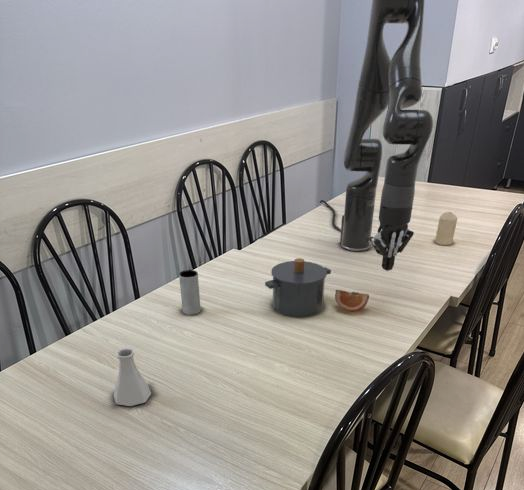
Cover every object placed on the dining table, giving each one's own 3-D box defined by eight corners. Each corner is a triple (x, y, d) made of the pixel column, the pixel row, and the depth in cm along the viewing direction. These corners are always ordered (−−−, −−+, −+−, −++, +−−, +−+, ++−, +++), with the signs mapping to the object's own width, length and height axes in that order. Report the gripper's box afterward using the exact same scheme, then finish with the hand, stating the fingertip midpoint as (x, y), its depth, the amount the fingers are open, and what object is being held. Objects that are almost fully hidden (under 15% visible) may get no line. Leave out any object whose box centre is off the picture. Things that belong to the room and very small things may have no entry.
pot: (255, 303, 131) (254, 271, 127) (312, 288, 139) (314, 257, 134) (280, 324, 122) (281, 290, 117) (340, 307, 130) (343, 274, 125)
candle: (453, 245, 167) (459, 216, 161) (435, 244, 168) (441, 215, 162) (451, 240, 171) (457, 211, 166) (434, 239, 172) (439, 210, 167)
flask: (116, 385, 101) (108, 343, 96) (153, 383, 101) (147, 341, 96) (110, 408, 95) (101, 364, 89) (149, 406, 95) (142, 362, 90)
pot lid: (261, 271, 128) (261, 256, 126) (306, 261, 134) (306, 246, 132) (290, 291, 118) (291, 275, 116) (337, 279, 124) (339, 264, 122)
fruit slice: (331, 311, 128) (332, 293, 125) (338, 300, 133) (339, 283, 130) (363, 317, 125) (365, 299, 122) (369, 306, 130) (371, 288, 127)
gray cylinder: (187, 316, 125) (183, 278, 120) (179, 309, 129) (176, 272, 123) (203, 312, 127) (200, 274, 122) (195, 305, 131) (192, 268, 125)
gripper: (406, 194, 125) (396, 259, 135) (364, 202, 120) (357, 269, 129) (428, 201, 120) (416, 269, 129) (386, 210, 114) (376, 280, 124)
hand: (387, 269), depth 129 cm, fingers closed
